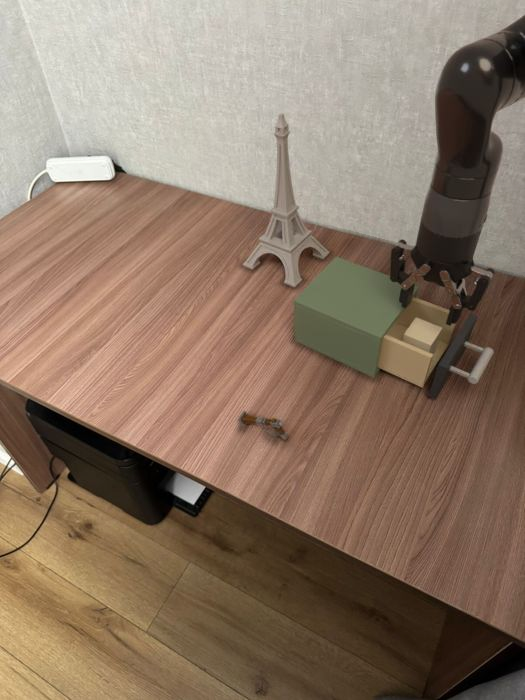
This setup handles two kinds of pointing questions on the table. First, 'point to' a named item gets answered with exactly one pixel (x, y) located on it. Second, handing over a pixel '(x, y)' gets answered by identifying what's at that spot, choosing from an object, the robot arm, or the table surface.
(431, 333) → the block
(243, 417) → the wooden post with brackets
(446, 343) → the drawer
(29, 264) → the table surface
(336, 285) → the cabinet
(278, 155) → the eiffel tower
